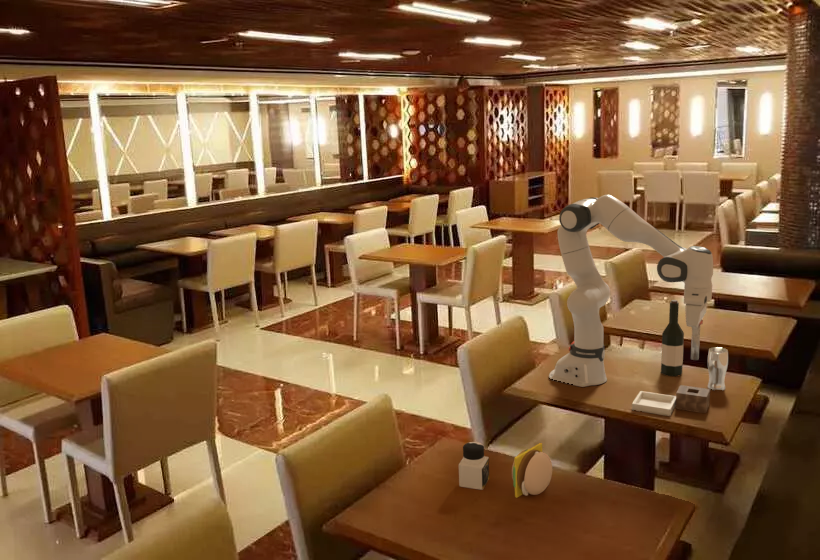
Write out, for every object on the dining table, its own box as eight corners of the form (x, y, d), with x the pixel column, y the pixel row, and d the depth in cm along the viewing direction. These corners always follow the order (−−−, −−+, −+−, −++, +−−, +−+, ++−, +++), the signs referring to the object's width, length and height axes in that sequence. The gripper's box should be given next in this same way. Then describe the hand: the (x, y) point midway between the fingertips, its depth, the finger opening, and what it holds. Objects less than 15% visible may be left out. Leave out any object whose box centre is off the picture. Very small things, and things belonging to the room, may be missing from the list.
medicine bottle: (482, 490, 203) (481, 451, 200) (459, 486, 205) (457, 448, 203) (489, 478, 209) (488, 441, 207) (466, 475, 212) (465, 438, 209)
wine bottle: (656, 372, 286) (658, 301, 280) (667, 367, 292) (670, 296, 285) (675, 378, 280) (678, 304, 274) (686, 372, 285) (689, 300, 279)
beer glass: (722, 384, 272) (724, 347, 268) (729, 391, 265) (731, 353, 262) (703, 384, 272) (705, 347, 269) (709, 391, 266) (711, 353, 262)
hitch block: (675, 408, 252) (676, 392, 250) (679, 400, 258) (680, 385, 257) (705, 413, 247) (706, 397, 245) (709, 405, 253) (710, 389, 252)
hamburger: (532, 504, 194) (532, 464, 192) (508, 494, 200) (507, 455, 198) (557, 487, 202) (557, 449, 200) (534, 478, 208) (533, 440, 206)
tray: (631, 410, 252) (631, 403, 252) (640, 397, 263) (640, 390, 263) (670, 416, 246) (670, 409, 245) (677, 402, 257) (677, 396, 256)
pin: (687, 359, 248) (689, 320, 245) (689, 356, 251) (691, 317, 248) (699, 361, 246) (701, 322, 243) (701, 357, 249) (703, 319, 246)
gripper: (693, 286, 254) (691, 323, 257) (682, 300, 237) (681, 339, 240) (712, 287, 251) (709, 325, 254) (703, 301, 233) (700, 341, 237)
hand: (695, 332), depth 247 cm, fingers closed on pin, 3 cm apart
